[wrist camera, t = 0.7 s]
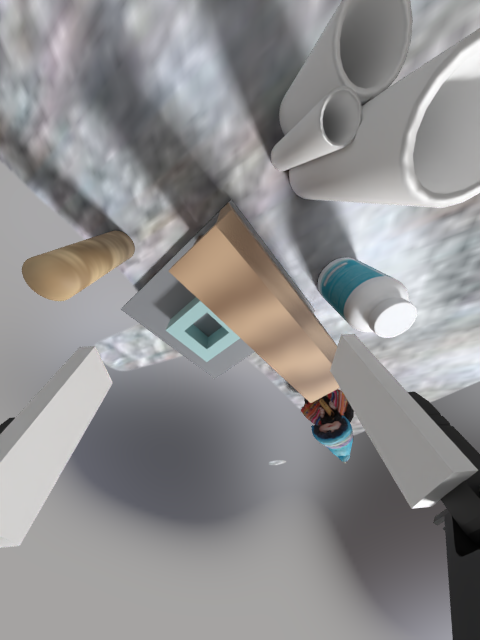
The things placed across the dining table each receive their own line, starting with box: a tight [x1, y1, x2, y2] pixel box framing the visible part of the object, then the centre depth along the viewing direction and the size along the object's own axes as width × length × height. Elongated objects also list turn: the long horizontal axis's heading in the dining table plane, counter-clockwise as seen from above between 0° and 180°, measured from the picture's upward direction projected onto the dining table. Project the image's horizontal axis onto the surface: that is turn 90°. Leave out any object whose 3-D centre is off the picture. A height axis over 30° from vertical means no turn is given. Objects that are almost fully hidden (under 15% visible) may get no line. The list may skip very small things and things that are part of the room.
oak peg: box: [22, 231, 135, 301], centre depth 24 cm, size 4×4×14 cm
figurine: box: [301, 389, 354, 463], centre depth 42 cm, size 10×7×15 cm
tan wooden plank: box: [169, 203, 340, 403], centre depth 27 cm, size 22×6×16 cm, turn 40°
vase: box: [271, 0, 480, 208], centre depth 17 cm, size 11×7×20 cm, turn 41°
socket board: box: [121, 199, 315, 378], centre depth 34 cm, size 22×24×4 cm
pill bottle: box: [318, 257, 417, 338], centre depth 29 cm, size 8×7×14 cm
